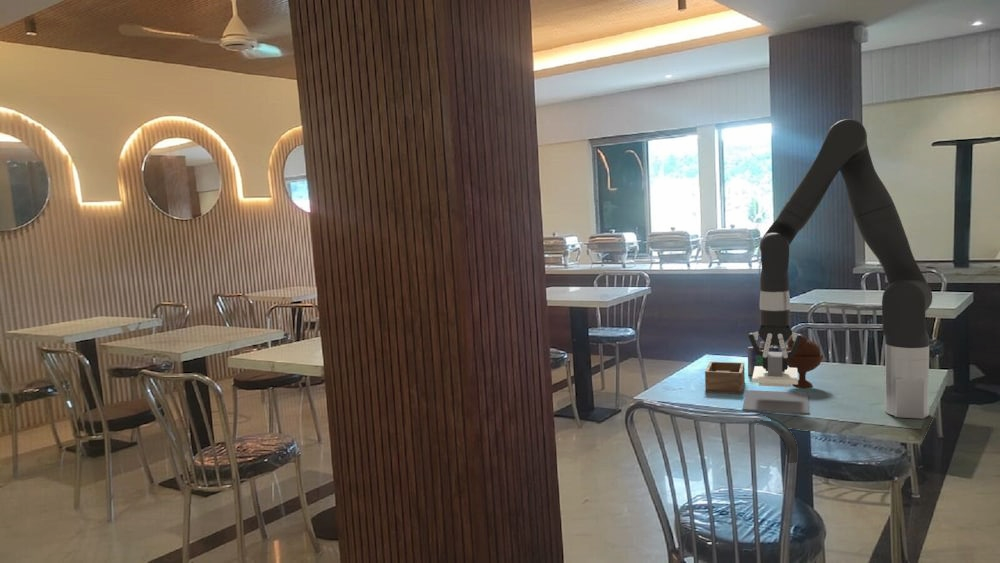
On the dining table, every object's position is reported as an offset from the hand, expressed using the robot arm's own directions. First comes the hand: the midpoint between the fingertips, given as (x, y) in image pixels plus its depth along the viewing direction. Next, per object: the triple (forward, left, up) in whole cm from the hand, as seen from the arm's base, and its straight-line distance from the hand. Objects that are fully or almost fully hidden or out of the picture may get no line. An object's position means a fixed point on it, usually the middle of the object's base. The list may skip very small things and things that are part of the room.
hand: (775, 370), depth 181 cm
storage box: (+14, +14, -9) cm, 21 cm away
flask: (+32, +4, -9) cm, 33 cm away
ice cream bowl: (+20, -7, -9) cm, 23 cm away
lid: (0, 0, -3) cm, 3 cm away
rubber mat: (0, 0, -9) cm, 9 cm away
